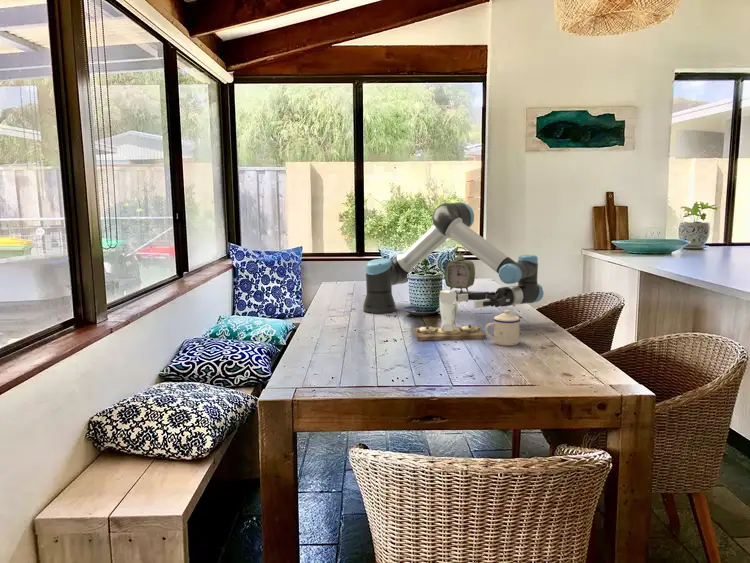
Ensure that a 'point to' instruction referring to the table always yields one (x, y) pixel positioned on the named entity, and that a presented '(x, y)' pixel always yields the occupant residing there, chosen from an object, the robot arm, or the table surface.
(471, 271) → the tabletop clock
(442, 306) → the beer glass
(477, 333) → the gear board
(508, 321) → the teacup with lid
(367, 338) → the table surface
